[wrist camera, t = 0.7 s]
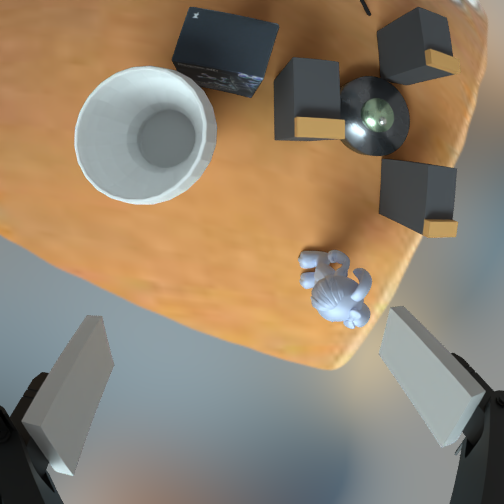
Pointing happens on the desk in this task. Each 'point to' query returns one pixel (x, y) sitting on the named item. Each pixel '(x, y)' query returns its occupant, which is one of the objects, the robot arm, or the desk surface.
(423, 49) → the dark grey tan-ended block
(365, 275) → the toy figurine
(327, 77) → the grey tan block
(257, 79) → the box
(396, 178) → the dark grey block
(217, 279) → the desk surface
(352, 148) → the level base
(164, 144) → the cup
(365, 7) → the glasses
